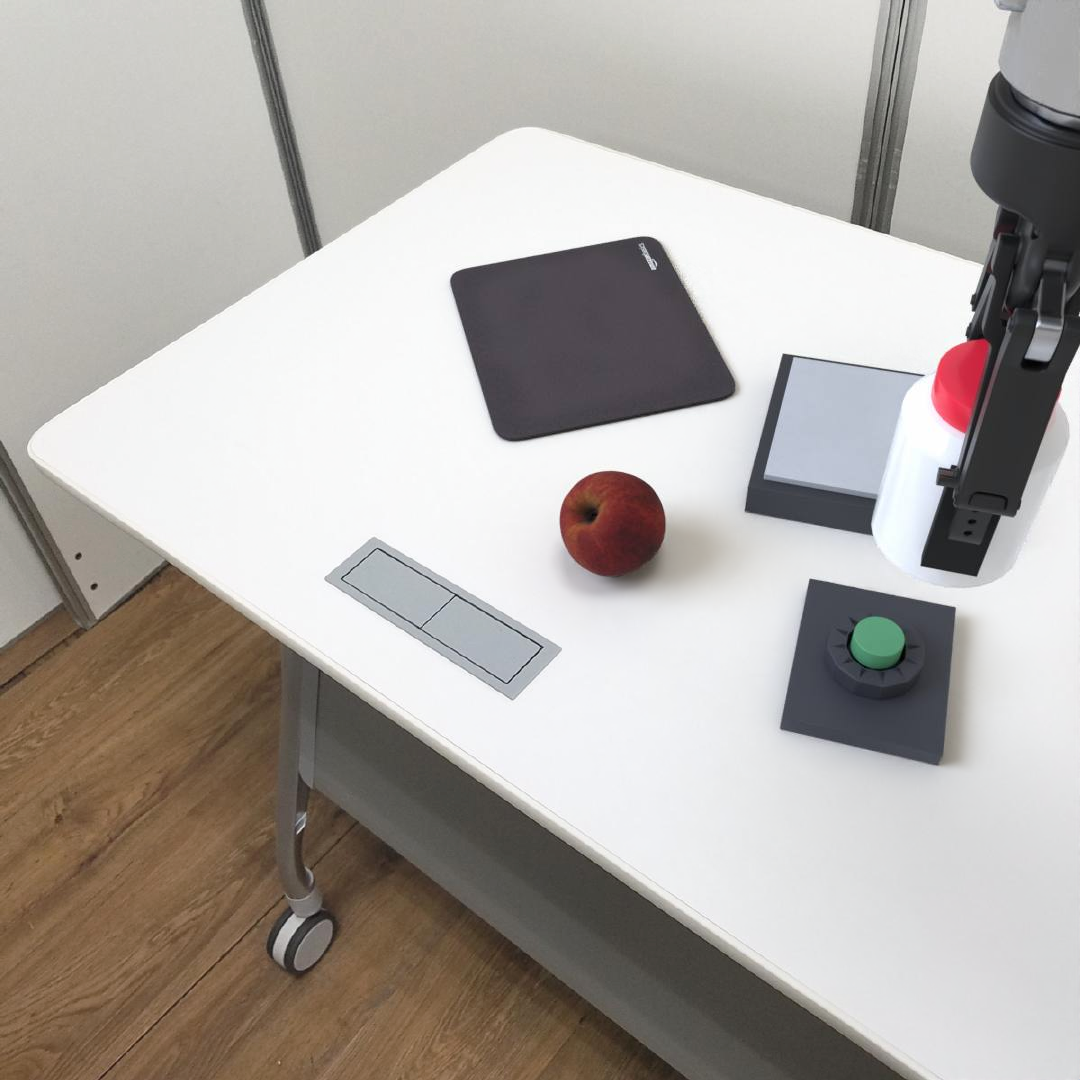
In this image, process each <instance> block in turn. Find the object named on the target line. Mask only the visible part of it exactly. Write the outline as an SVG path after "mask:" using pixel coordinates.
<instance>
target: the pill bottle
mask: <svg viewBox="0 0 1080 1080" xmlns="http://www.w3.org/2000/svg"><path fill="white" fill-rule="evenodd" d="M988 347H989V342H988V341H986V340H985V339H980V340H972V341H968V342H967V341H964V342H961V343H959V344H957V345H954V346H953V347H951V348H950V349H948V350H947V351H945V353H944V354H943V355H942V357H941V358H940V360H939V363H938V365H937V367H936V370H934V371H932V372H929V373H927V374H924V375H925V376H923V377H922V378H921V379H919V380H918V381H917V382H915V383H914V384H913V386H912V387H911V388H910V389H909V390H908V392H907V393H906V395H905V398H904V400H903V402H902V405H901V409H900V413H899V416H898V420H897V424H896V428H895V431H894V435H893V439H892V443H891V446H890V450H889V454H888V458H887V461H886V465H885V469H884V473H883V476H882V480H881V484H880V488H879V491H878V495H877V499H876V503H875V506H874V510H873V515H872V523H871V526H872V532H873V535H872V536H873V539H874V541H875V543H876V546H877V547H878V549H879V550H880V552H881V553H882V555H883V556H884V557H885V558H886V559H887V560H888V561H889V562H890V563H891V564H892V565H893V566H894V567H896V568H897V569H899V570H900V571H901V572H902V573H904V574H906V575H908V576H910V577H912V578H914V579H916V580H918V581H921V582H923V583H926V584H930V585H932V586H937V587H942V588H943V587H944V588H948V589H970V588H977V587H982V586H985V585H988V584H991V583H994V582H996V581H997V580H999V579H1001V578H1004V577H1005V576H1006V574H1008V573H1009V572H1010V571H1011V570H1012V569H1013V568H1014V566H1015V565H1016V563H1017V562H1018V560H1019V558H1020V556H1021V554H1022V551H1023V549H1024V548H1025V545H1026V543H1027V541H1028V538H1029V536H1030V533H1031V531H1032V528H1033V527H1034V524H1035V522H1036V519H1037V517H1038V515H1039V512H1040V511H1041V508H1042V506H1043V504H1044V501H1045V499H1046V496H1047V494H1048V492H1049V490H1050V488H1051V485H1052V483H1053V480H1054V478H1055V476H1056V474H1057V471H1058V470H1059V467H1060V465H1061V462H1062V460H1063V458H1064V456H1065V453H1066V451H1067V448H1068V444H1069V441H1070V438H1071V437H1070V435H1071V433H1070V430H1071V429H1070V422H1069V419H1068V416H1067V413H1066V411H1065V410H1064V408H1063V407H1062V405H1061V403H1060V402H1059V400H1060V397H1061V394H1062V391H1063V387H1061V389H1060V392H1059V395H1058V398H1057V400H1056V403H1055V406H1054V409H1053V412H1052V414H1051V417H1050V420H1049V423H1048V426H1047V428H1046V431H1045V434H1044V437H1043V439H1042V442H1041V445H1040V448H1039V451H1038V453H1037V456H1036V459H1035V462H1034V465H1033V467H1032V470H1031V473H1030V476H1029V479H1028V481H1027V484H1026V487H1025V490H1024V492H1023V495H1022V498H1021V506H1020V509H1019V510H1017V513H1016V515H1015V516H1014V518H1013V517H1007V516H1002V515H1001V518H1000V520H999V523H998V525H997V528H996V530H995V533H994V535H993V538H992V540H991V543H990V545H989V548H988V550H987V553H986V555H985V558H984V560H983V563H982V565H981V568H980V570H979V573H978V575H977V577H975V576H969V575H964V574H959V573H954V572H948V571H943V570H938V569H933V568H927V567H922V566H920V565H921V556H922V552H923V549H924V546H925V543H926V540H927V537H928V534H929V531H930V528H931V525H932V522H933V519H934V516H935V513H936V510H937V507H938V504H939V501H940V498H941V495H942V492H943V488H944V486H938V485H936V478H937V473H938V468H939V467H942V468H947V469H950V467H951V465H956V466H957V464H958V461H959V457H960V453H961V449H962V445H963V442H964V438H965V434H966V430H967V426H968V423H969V419H970V415H971V411H972V408H973V404H974V400H975V396H976V392H977V389H978V385H979V381H980V377H981V373H982V370H983V366H984V362H985V358H986V355H987V351H988Z"/></svg>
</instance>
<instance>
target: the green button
mask: <svg viewBox="0 0 1080 1080" xmlns="http://www.w3.org/2000/svg"><path fill="white" fill-rule="evenodd" d="M904 643H905V637H904V634H903V631H902V630H901V628H900V627H899V626H898V625H897V624H896V623H894V622H893V621H891V620H889V619H887V618H883V617H868V618H865V619H863V620H861V621H860V622H859V623H858V624H857V625H856V627H855V629H854V633H853V637H852V640H851V652H852V654H853V656H854V657H855V659H856V660H857V661H858V662H860V663H861V664H862V665H864V666H866V667H869V668H872V669H886V668H889V667H891V666H893V665H894V664H896V663H897V661H898V660H899V658H900V655H901V652H902V649H903V646H904Z"/></svg>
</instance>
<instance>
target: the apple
mask: <svg viewBox="0 0 1080 1080" xmlns="http://www.w3.org/2000/svg"><path fill="white" fill-rule="evenodd" d="M665 513H666V512H665V509H664V506H663V503H662V501H661V498H660V497H659V495H658V494H657V492H656V490H655V488H653V487H652V486H651V484H649V483H648V482H647V481H645V480H644V479H642V478H641V477H638V476H636V475H634V474H631V473H627V472H624V471H620V470H619V471H618V470H602V471H596V472H594V473H593V472H592V473H590V474H588V475H586V476H584V477H582V478H581V479H580V480H578V481H576V483H575V484H574V485H573V487H571V489H570V490H569V491H568V493H567V494H566V495H565V497H564V498H563V501H562V503H561V506H560V511H559V529H560V530H559V531H560V535H561V539H562V543H563V545H564V546H565V549H566V550H567V552H568V554H569V555H570V556H571V558H572V559H573V561H575V563H577V564H578V565H579V566H580V567H582V568H583V569H585V570H587V571H588V572H590V573H592V574H595V575H598V576H603V577H618V576H624V575H627V574H630V573H633V572H635V571H637V570H639V569H641V568H642V567H644V566H645V565H647V564H648V563H649V562H650V561H651V560H652V559H654V557H655V556H656V555H657V554H658V552H659V550H660V548H661V547H662V545H663V542H664V540H665V536H666V529H667V528H666V525H667V522H666V520H667V519H666V514H665Z"/></svg>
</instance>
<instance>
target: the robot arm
mask: <svg viewBox="0 0 1080 1080" xmlns="http://www.w3.org/2000/svg"><path fill="white" fill-rule="evenodd" d="M993 3H994V4H995V6H996V8H997V9H998V10H1001V11H1006V12H1007V11H1008V12H1010V14H1009V16H1008V19H1007V23H1006V27H1005V31H1004V35H1003V38H1002V42H1001V46H1000V50H999V54H998V60H997V62H998V67H999V71H998V72H996V73H995V74H994V76H992V78H991V80H990V83H989V84H988V89H987V92H986V96H985V99H984V104H983V107H982V111H981V114H980V118H979V122H978V127H977V130H976V133H975V137H974V141H973V145H972V148H971V152H970V157H969V158H970V159H969V160H970V161H969V162H970V170H971V174H972V177H973V179H974V181H975V183H976V184H977V186H978V188H979V189H980V190H981V191H982V192H983V194H984V195H985V196H987V197H988V198H989V199H990V200H992V201H993V202H994V203H995V204H997V205H998V207H997V210H996V215H995V221H994V227H993V234H992V239H991V241H990V244H989V249H988V252H987V254H986V258H985V261H984V264H983V267H982V270H981V273H980V275H979V279H978V282H977V285H976V288H975V290H974V291H975V292H974V293H973V294H972V295H971V297H970V302H969V305H971V312H972V313H974V314H973V316H972V318H971V321H970V322H969V323H968V325H967V326H966V330H965V335H964V336H965V337H966V342H968V341H972V340H980V339H985V340H986V341H988V342H989V347H988V351H987V355H986V358H985V362H984V366H983V370H982V373H981V377H980V381H979V385H978V389H977V392H976V396H975V400H974V404H973V408H972V411H971V415H970V419H969V423H968V426H967V430H966V434H965V438H964V442H963V445H962V449H961V453H960V457H959V461H958V464H957V466H956V465H951V467H950V469H947V468H942V467H939V468H938V473H937V478H936V485H938V486H944V488H943V492H942V495H941V498H940V501H939V504H938V507H937V510H936V513H935V516H934V519H933V522H932V525H931V528H930V531H929V534H928V537H927V540H926V543H925V546H924V549H923V552H922V556H921V565H920V566H922V567H927V568H933V569H938V570H943V571H948V572H954V573H959V574H964V575H969V576H975V577H977V575H978V573H979V570H980V568H981V565H982V563H983V560H984V558H985V555H986V553H987V550H988V548H989V545H990V543H991V540H992V538H993V535H994V533H995V530H996V528H997V525H998V523H999V520H1000V518H1001V515H1002V516H1007V517H1013V518H1014V516H1015V515H1016V513H1017V510H1019V509H1020V506H1021V498H1022V495H1023V492H1024V490H1025V487H1026V484H1027V481H1028V479H1029V476H1030V473H1031V470H1032V467H1033V465H1034V462H1035V459H1036V456H1037V453H1038V451H1039V448H1040V445H1041V442H1042V439H1043V437H1044V434H1045V431H1046V428H1047V426H1048V423H1049V420H1050V417H1051V414H1052V412H1053V409H1054V406H1055V403H1056V400H1057V398H1058V395H1059V392H1060V389H1061V387H1062V386H1063V384H1064V381H1065V378H1066V375H1067V373H1068V371H1069V369H1070V367H1071V365H1072V363H1073V360H1074V358H1075V357H1076V354H1077V352H1078V350H1079V348H1080V0H993ZM1062 388H1063V387H1062Z"/></svg>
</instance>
